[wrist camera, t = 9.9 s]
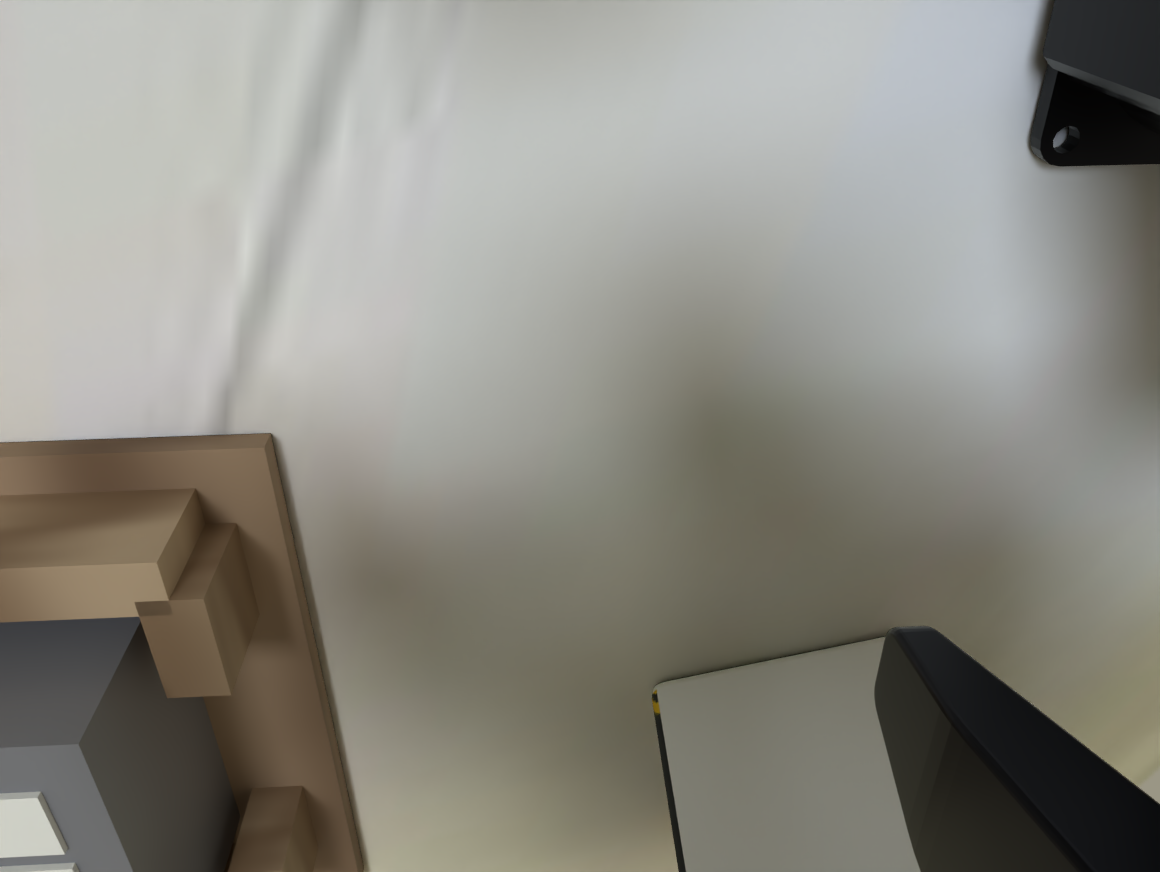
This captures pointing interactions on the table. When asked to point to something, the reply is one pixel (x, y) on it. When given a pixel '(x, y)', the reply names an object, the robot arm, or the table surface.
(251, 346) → the table surface
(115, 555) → the cradle board
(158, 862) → the power strip
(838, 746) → the medicine bottle
